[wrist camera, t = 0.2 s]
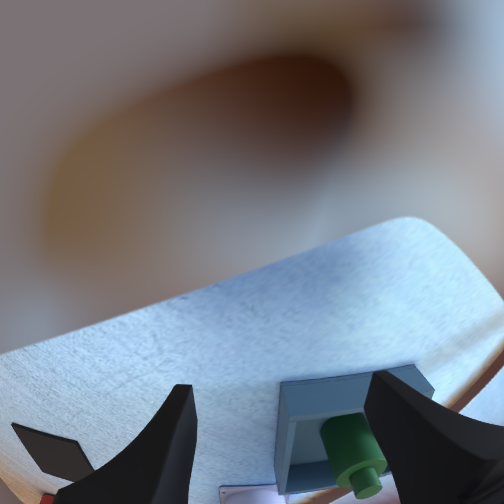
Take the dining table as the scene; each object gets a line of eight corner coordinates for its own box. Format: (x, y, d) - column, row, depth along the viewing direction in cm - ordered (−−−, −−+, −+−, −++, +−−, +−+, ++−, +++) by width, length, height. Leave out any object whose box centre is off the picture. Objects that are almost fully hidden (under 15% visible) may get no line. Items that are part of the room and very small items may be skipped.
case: (382, 448, 27) (394, 473, 23) (273, 465, 26) (278, 495, 22) (414, 363, 23) (435, 389, 20) (280, 381, 23) (288, 416, 19)
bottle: (359, 437, 25) (385, 497, 17) (316, 444, 25) (336, 510, 17) (369, 406, 24) (403, 471, 16) (323, 414, 23) (348, 485, 16)
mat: (105, 486, 27) (104, 489, 26) (43, 469, 26) (42, 472, 26) (77, 441, 24) (75, 444, 24) (12, 422, 23) (10, 424, 23)
